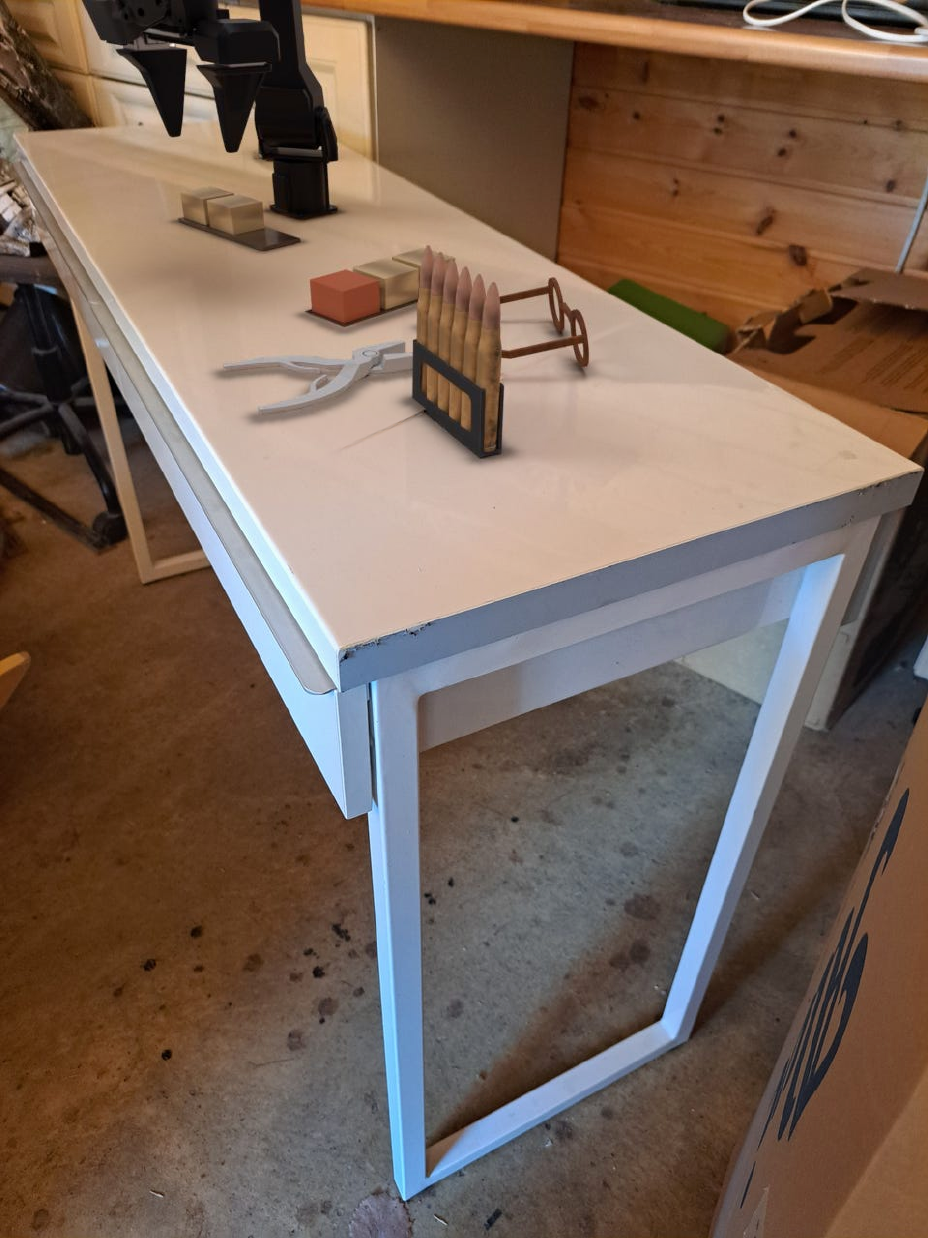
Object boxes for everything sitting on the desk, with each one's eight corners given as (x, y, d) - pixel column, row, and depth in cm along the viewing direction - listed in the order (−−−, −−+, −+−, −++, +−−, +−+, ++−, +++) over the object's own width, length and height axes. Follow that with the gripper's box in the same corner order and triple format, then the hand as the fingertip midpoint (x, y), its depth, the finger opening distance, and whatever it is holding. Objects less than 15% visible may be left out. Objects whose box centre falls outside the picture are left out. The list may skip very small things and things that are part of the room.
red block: (347, 300, 86) (345, 268, 85) (380, 312, 84) (379, 280, 82) (311, 311, 84) (309, 279, 82) (344, 323, 81) (342, 291, 80)
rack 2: (422, 278, 94) (422, 245, 92) (461, 291, 91) (462, 257, 89) (304, 315, 84) (301, 279, 82) (344, 330, 81) (342, 293, 79)
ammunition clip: (411, 400, 70) (410, 243, 62) (431, 396, 71) (433, 240, 63) (480, 458, 63) (488, 288, 55) (502, 452, 63) (513, 284, 56)
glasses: (590, 379, 74) (597, 320, 71) (438, 383, 73) (439, 323, 69) (554, 323, 85) (559, 270, 81) (419, 326, 83) (420, 271, 80)
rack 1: (178, 221, 108) (173, 191, 106) (216, 213, 111) (212, 184, 109) (262, 250, 99) (259, 219, 97) (300, 241, 103) (298, 210, 101)
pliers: (220, 353, 72) (386, 327, 78) (223, 371, 73) (387, 344, 79) (259, 400, 65) (437, 367, 71) (262, 419, 66) (437, 385, 72)
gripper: (25, -75, 72) (71, 138, 82) (150, -67, 63) (185, 173, 72) (146, -71, 79) (175, 126, 88) (275, -63, 69) (292, 156, 79)
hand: (202, 144), depth 82 cm, fingers open, 9 cm apart
